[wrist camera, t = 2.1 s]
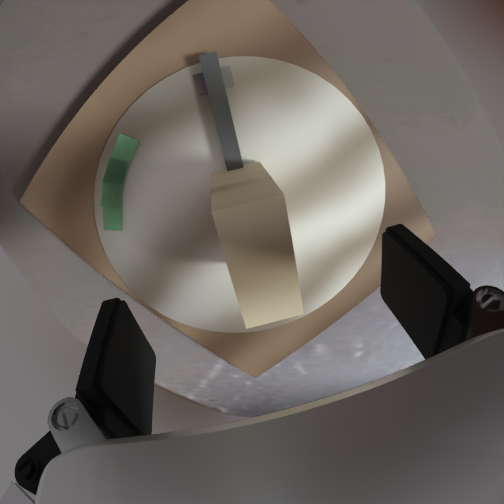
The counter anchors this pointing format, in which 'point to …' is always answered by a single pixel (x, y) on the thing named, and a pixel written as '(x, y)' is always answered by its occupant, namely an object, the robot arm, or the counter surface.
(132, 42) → the counter surface
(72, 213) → the square board with disc
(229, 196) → the beige block with rod
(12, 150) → the counter surface
